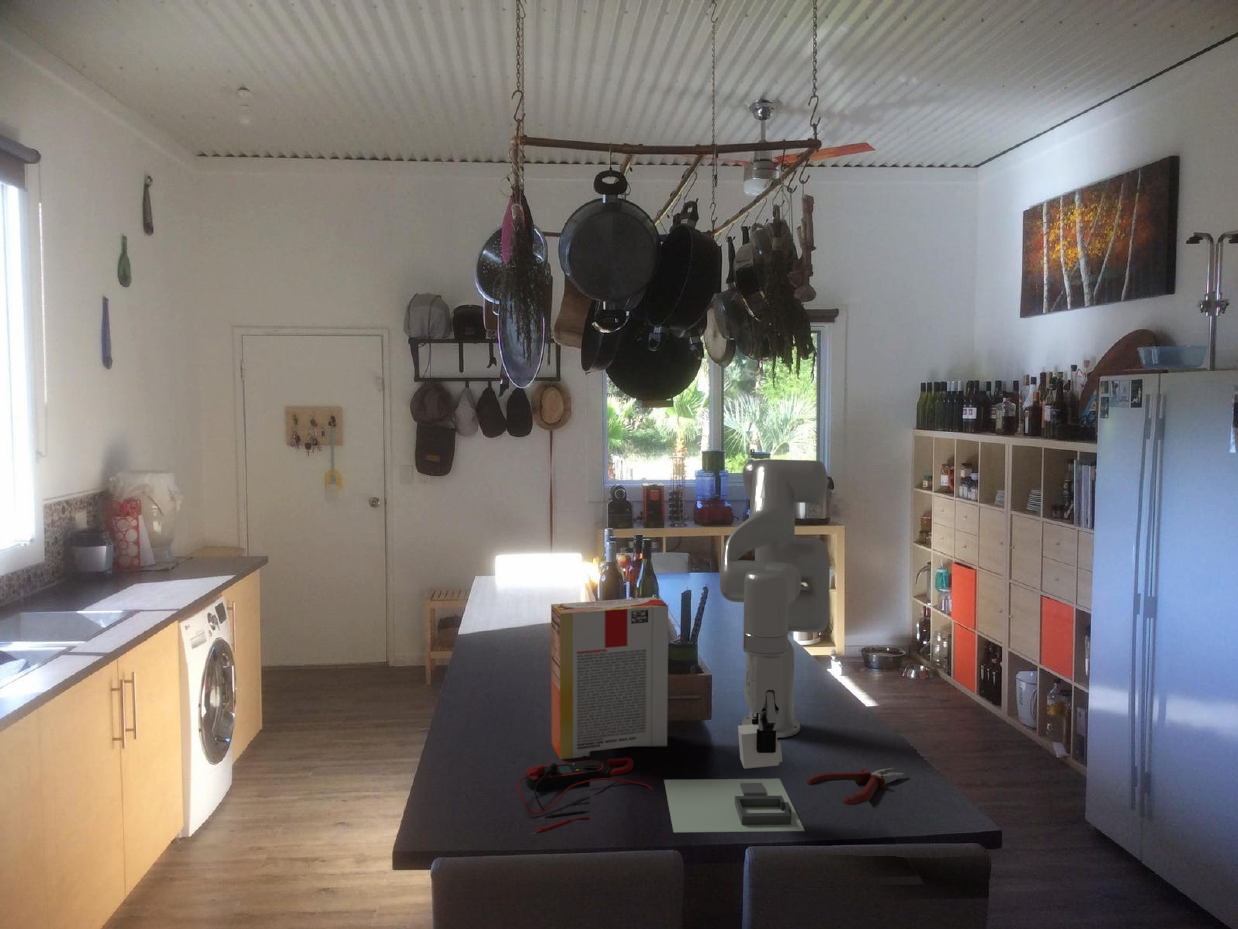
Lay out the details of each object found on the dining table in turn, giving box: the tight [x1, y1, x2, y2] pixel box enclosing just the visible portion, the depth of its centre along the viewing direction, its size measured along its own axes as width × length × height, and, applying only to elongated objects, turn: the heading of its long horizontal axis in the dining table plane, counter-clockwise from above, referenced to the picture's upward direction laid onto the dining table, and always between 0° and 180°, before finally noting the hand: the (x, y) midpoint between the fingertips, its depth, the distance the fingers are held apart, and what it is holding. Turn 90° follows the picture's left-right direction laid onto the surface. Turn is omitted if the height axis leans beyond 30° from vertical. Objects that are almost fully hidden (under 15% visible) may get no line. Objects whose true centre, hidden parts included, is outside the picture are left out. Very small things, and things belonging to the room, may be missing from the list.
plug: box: [737, 724, 783, 770], centre depth 153 cm, size 4×7×6 cm, turn 91°
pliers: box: [806, 767, 908, 806], centre depth 168 cm, size 12×20×3 cm, turn 121°
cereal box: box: [550, 596, 669, 761], centre depth 185 cm, size 23×8×30 cm, turn 107°
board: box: [663, 778, 805, 834], centre depth 158 cm, size 20×22×2 cm
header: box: [735, 796, 791, 825], centre depth 154 cm, size 8×9×2 cm
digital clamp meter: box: [517, 757, 654, 836], centre depth 164 cm, size 23×4×25 cm
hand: (763, 745), depth 153 cm, fingers closed on plug, 3 cm apart
